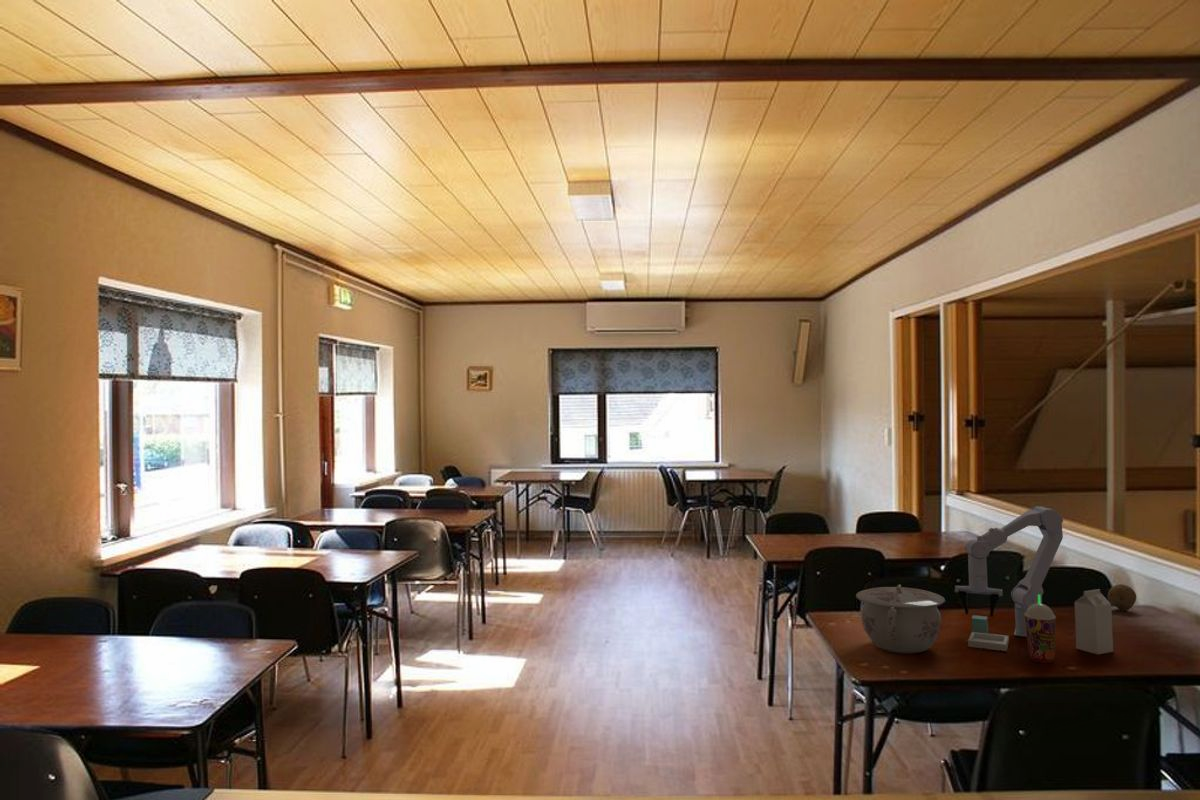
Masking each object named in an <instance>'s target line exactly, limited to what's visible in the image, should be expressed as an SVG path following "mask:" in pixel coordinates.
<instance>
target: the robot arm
mask: <svg viewBox="0 0 1200 800" xmlns="http://www.w3.org/2000/svg"><path fill="white" fill-rule="evenodd" d="M1063 522H1064V519H1063V518H1062V516H1061V514H1060V513H1059V511H1058V510H1056V509H1054V508H1048V507H1045V506H1041V505H1037V506H1033V507H1032V508H1031V509H1030V508H1029V509H1027V510H1026V511H1025V512H1024V513H1022V514H1021V515H1019V516H1018V517H1016V518H1015V519H1013V520H1012V521H1010V522H1009V523H1007V524H1006V525H1004V526H1002V527H1001V528H999V527H994V528H993V527H990V528H989V529H988V531H987V532H985V533H983V534H982V535H977V536H976V539H975V538H972V539H969V540H968V541H967V543H966V545H965V546H964V550H965V552H966V553H967V556H968V557H967V561H968V562H967V563H968V566H967V567H968V569H967V570H968V585H955V586H954V592H955V593H958V594H957V595H958V597H959V598H960V601H961V603H962V605H963V608H964V612H965V615H969V605H968V602H969V599H968V596H969V595H968V594H976V595H977V594H978V595H979V594H980V595H988V596H989V595H990V596H989V602H990V604H989V605H990V611H989V612H990V614H989V615H990V618H993V617H994V611H995V607H996V604H997V601H998V600H999V597H1003V589H1002V588H1001V589H1000V588H993V587H988V565H987V557H988V556H989V554H990V552H991V551H993V550H995V549H996V548H999V547H1000V546H1002V545H1003V544H1005V543H1007V541H1008V537H1011V536H1012V535H1014V534H1016V533H1018V532H1019V531H1022V530H1023V529H1026V528H1027V527H1038V529H1039V531H1040V532H1041V535H1042V539H1041V540H1040V543H1039V546H1038V548H1037V550H1036V551H1035V554H1034V557H1033V559H1032V561H1031V563H1030V565H1029V568H1028V570H1027V571H1026V574H1025V576H1024V578H1022V579H1021V580H1019V582H1018V583H1017V585H1016V586H1015V587H1014V588H1012V590H1011V592H1010V593H1011V594H1010V596H1011V599H1012V601H1013V602H1014V616H1015V617H1014V619H1015V629H1014V633H1013V635H1014V636H1015V637H1026V638H1027V632H1026V623H1025V615H1024V614H1025V613H1026V611H1027V609H1028V608H1029V607H1030V606H1031V605H1033V604H1036V603H1038V595H1040V601H1041V604H1043V597H1042V596H1043V594H1044V589H1043V586H1042V585H1043V583H1044V581H1045V579H1046V577H1047V574H1048V572H1049V570H1050V568H1051V565H1052V563H1053V561H1054V560H1055V557H1056V554H1057V552H1058V550H1059V547H1060V544H1061V543H1062V541H1063V537H1064V536H1063V535H1064V533H1063Z"/></svg>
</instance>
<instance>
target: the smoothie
mask: <svg viewBox="0 0 1200 800" xmlns="http://www.w3.org/2000/svg"><path fill="white" fill-rule="evenodd" d="M1024 615H1025V623H1026V632H1027V637H1026V639H1027V640H1026V641H1027V649H1028V655H1029V656H1030V659H1031V661H1033V662H1037V663H1040V664H1050V663H1053V661H1054V659H1055V658H1056V657H1055V656H1056V619H1057V616H1056V615H1055V614H1054V612H1053V610H1052V608H1051V607H1049V606H1048V605H1046V604H1044V603H1042V604H1041V601H1040V595H1038V603H1036V604H1033V605H1031V606H1030V607H1029V608H1028V609H1027V611H1026V613H1025V614H1024Z"/></svg>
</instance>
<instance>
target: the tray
mask: <svg viewBox="0 0 1200 800" xmlns="http://www.w3.org/2000/svg"><path fill="white" fill-rule="evenodd" d="M1009 636H1010V635H1004V634H995V633H988V634H987V633H977V632H972V631H971V633H970V636H969V638H968V639H967V640H968V641H967V642H968V647H969V648H973V649H974V648H976V649H977V648H978V649H983V648H984V650H992V651H1000V650H1001V651H1003V652H1007V651H1008V648H1009V647H1008V646H1009V643H1010V641H1009V640H1010V639H1009V638H1010V637H1009ZM985 648H986V649H985Z"/></svg>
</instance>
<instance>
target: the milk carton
mask: <svg viewBox="0 0 1200 800" xmlns="http://www.w3.org/2000/svg"><path fill="white" fill-rule="evenodd" d="M1073 604H1074V621H1075V642H1076V643H1075V645H1076V646H1075V647H1076V649H1077V650H1080V651H1083V652H1087V653H1090V654H1094V655H1102V654H1103V655H1104V654H1107V653H1108V654H1109V653H1112V652H1114V642H1113V641H1114V637H1113V618H1112V617H1113V615H1112V604H1111V603H1110V602H1109V601H1108V598H1106V597H1105V595H1103V593H1101V589H1100V588H1098V589H1092V590H1084V591H1083V595H1082V596H1080V597H1079V598H1078V599H1077V600H1075V601H1074V603H1073Z"/></svg>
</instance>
